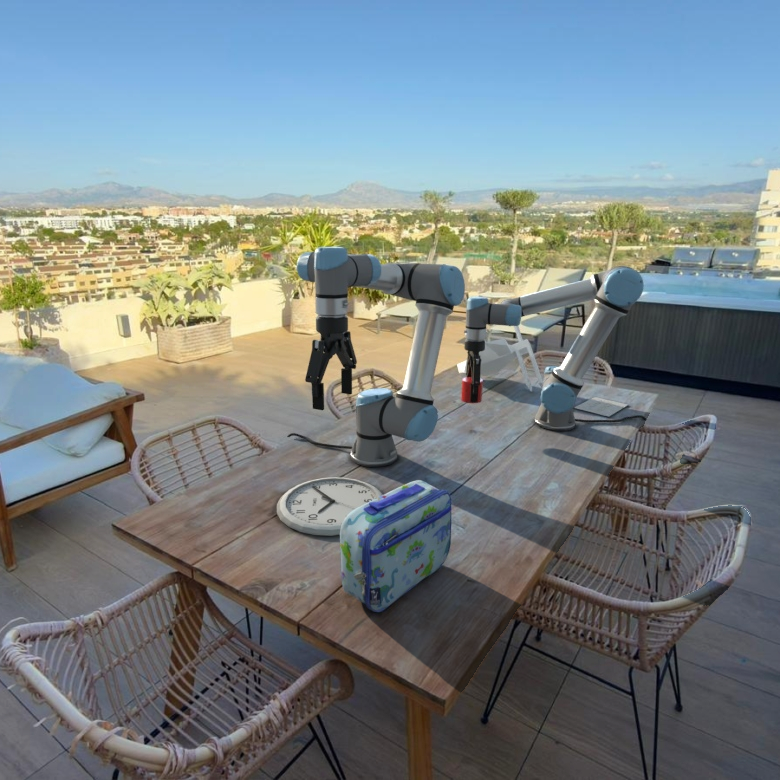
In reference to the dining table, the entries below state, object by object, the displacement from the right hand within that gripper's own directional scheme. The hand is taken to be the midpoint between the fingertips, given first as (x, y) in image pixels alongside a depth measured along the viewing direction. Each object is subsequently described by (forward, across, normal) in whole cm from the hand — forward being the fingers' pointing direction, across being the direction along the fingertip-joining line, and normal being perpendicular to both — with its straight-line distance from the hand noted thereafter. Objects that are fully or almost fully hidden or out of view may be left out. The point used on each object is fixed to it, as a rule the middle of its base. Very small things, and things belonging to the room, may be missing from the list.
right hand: (471, 398), depth 199 cm
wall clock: (+11, +60, -49) cm, 79 cm away
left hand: (-21, +65, -48) cm, 84 cm away
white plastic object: (+11, -54, +23) cm, 59 cm away
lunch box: (+11, +93, -33) cm, 100 cm away
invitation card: (+12, -22, +61) cm, 66 cm away
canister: (+1, 0, 0) cm, 1 cm away
